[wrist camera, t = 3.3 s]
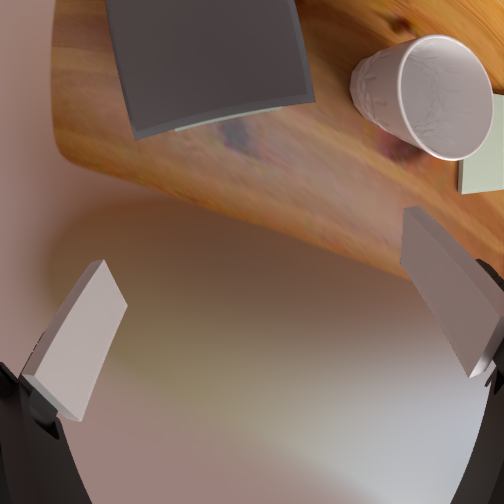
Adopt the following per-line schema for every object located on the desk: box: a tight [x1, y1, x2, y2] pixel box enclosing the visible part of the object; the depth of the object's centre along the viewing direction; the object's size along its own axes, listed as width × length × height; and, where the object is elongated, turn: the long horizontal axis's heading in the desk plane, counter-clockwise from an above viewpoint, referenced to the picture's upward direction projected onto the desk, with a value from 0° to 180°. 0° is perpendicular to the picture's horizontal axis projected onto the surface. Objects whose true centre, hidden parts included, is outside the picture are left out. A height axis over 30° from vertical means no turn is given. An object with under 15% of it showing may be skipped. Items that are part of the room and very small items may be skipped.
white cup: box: [349, 34, 494, 161], centre depth 16 cm, size 8×8×10 cm
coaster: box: [457, 94, 504, 194], centre depth 22 cm, size 11×11×1 cm
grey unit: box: [105, 0, 315, 141], centre depth 14 cm, size 11×8×13 cm
